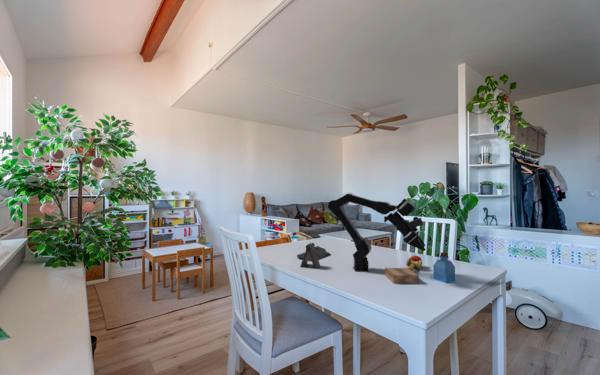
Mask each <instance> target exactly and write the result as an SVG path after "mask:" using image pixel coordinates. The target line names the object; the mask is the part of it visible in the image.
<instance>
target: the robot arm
mask: <svg viewBox="0 0 600 375" xmlns="http://www.w3.org/2000/svg"><path fill="white" fill-rule="evenodd" d="M348 203H353V204H356V205H358V206H359V205H360V206H363V207H365V208H370V209H372V210H373V211H375V212H376V213H379V214H380V215H385V216H384V217H383V219H384V220H383V222H384V223H387V221H389V223H390V224H391V225H392V226H394V227H395V229H396V231H398V232H399V233H400V234H402V236H403V242H404V243H405V244H407V245H409V246H412V247H414V248H416V249H418V250H420V251H422V252H424V251H426V248H425V247H426V244H425V243H424V241H423V240H422V238H421V236H420V231H419V229H418V228H417V227H420V226H421V227H422V226H424V221H423V220H422V218H421V217H417V216H414V217H412V220H410V221H409V220H407V219H405V218H404V217H408V216H409V215H410V214H411V213H413V212H414V211H415V210H416V209H417V208H416V207H415V206H414V204H413V203H411V202H410V201H409V200H408V199H406V198H403V199H402V200H401V202H400V203H399V204H397V205H395V204H394V205H393V204H391V203H390V202H387V201H381V200H380V201H379V200H372V199H368V198H365V197H362V196H357V195H354V194H352V193H346V194H345V195H343V196H342V197H338V198H337V199H334V200H333V199H332V200H330V201H329V202H328V205H327V208H328V210H329V211H330V212H331V213H332V214H333V215H334V216H335V217H336V218H338V220H339V221H340V222H341V224H342V225H343V227H344V228H345V230H346V232H347V233H348V235H349V236H350V237H351V239H352V240H353V243H354V246H355V249H356V251H355V252H354V253H353V254H352V257H353V266H352V269H353V270H354V271H355V272H369V260H368V257H367V256H368V255H369V254H370V253H371V251H372V246H371V245H372V242H370V241H369V240H368V238H367V237H363V236H362V235H361V234H360V232H359V231H358V230H357V228H356V227H355V225H354V223H352V221H351V220H350V218H349V217H348V215H347V214H346V211H345V208H344V205H346V204H348ZM394 211H395V212H394ZM392 212H393V213H392ZM386 215H387V216H386Z"/></svg>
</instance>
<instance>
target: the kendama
mask: <svg viewBox="0 0 600 375" xmlns="http://www.w3.org/2000/svg"><path fill="white" fill-rule="evenodd" d="M405 265H406V267H407V268H409V269H411V270H412V271H413V272H414V270H415V268H416V269H417V270H419V271H421V270H422V267H423V260H422V258H421V257H420V256H419V255H412V256H410V257H407V259H406V264H405Z"/></svg>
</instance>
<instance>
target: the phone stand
mask: <svg viewBox="0 0 600 375" xmlns="http://www.w3.org/2000/svg"><path fill="white" fill-rule="evenodd" d="M315 247H316V246H315V243H314V242H309V243H308V244H306V245H305V252H304V253H305V254H304V257H303V259H302V260H301V264H300V268H305V269H316V270H317V269H318V268H320V266H321V263H320V260H318V257H317V254H316V251H315ZM309 255H311V259H312V261H311V263H312V264H311V263H308V262H309V260H308V259H309Z"/></svg>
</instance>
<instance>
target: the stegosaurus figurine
mask: <svg viewBox="0 0 600 375" xmlns="http://www.w3.org/2000/svg"><path fill="white" fill-rule="evenodd" d="M315 251H316V254H317V257H318V260H319V261H320V260H323V259H325V258H327V257H330V256H331V255H332V254H331V253H330V252H328V251H327V250H326V248H324V247H321V246H319V245H317V246H315ZM304 254H305V252H302V253H299V254H297V255H296V258H297V259H302V260H303V257H304ZM308 262H312V259H311V255H309V259H308Z"/></svg>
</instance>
